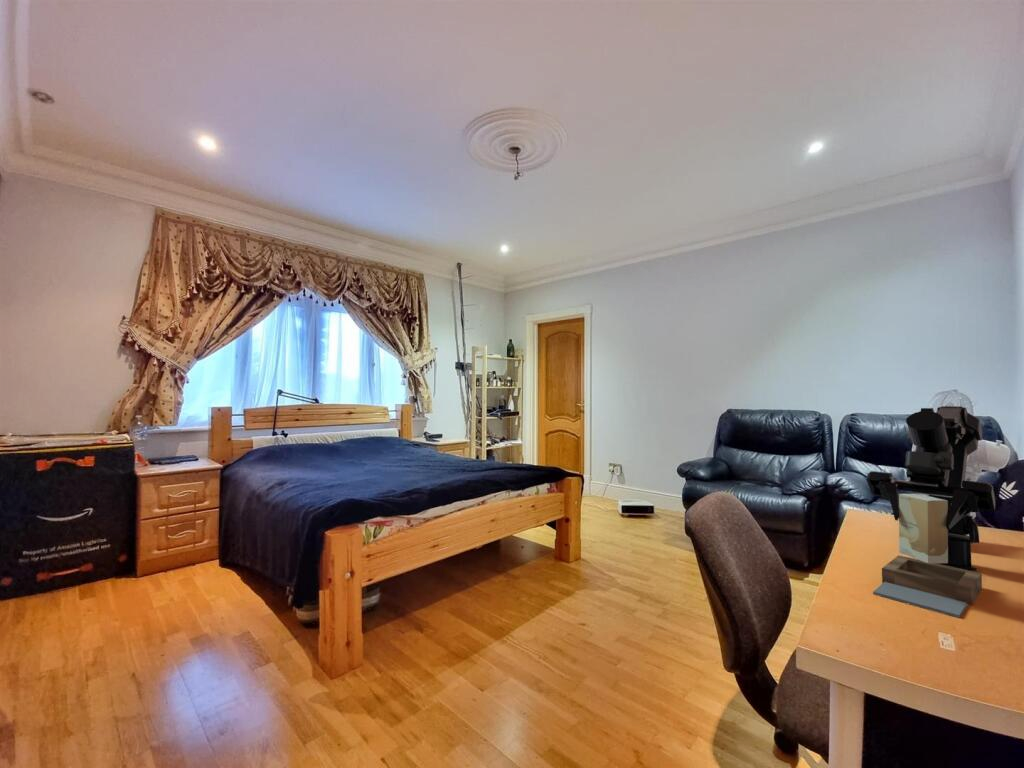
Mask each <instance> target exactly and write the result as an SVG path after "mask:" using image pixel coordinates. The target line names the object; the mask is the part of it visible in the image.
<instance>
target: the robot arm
mask: <svg viewBox="0 0 1024 768" xmlns="http://www.w3.org/2000/svg"><path fill="white" fill-rule="evenodd" d="M905 421H906V425H907V426H906V427H907V429H908V433H909V436H910V439H911V443H912V444H913V445H914V446H915V451H914V450H908V451H906V452H905V463H904V467H905V468H906V472H905V475H906V478H908V479H909V480H903V479H897V478H896V477H894V476H893V473H892V472H884V471H877V470H876V471H875V470H872V471H869V472H868V473H867V475H866V482H867V485H868V488H869V490H870V493H871V495H873V496H875V497H880V498H882V499H883V500H885V501H888V502H889V503H890V506H891V510H892V514H893V518H894V520H895V521H898V522H899V494H900V491H904V492H912V493H915V494H920V495H926V496H930V497H934V498H938V499H943V500H947V501H948V516H947V520H946V528H947V529H948V563H936V564H941V565H945V566H950V567H955V568H959V569H964V570H969V571H977V567H975V566H974V565H972V544H974V543H975V544H979V543H980V531H979V527H978V526H979V525H978V523H977V522H976V521H975V518H974V516H973V515H971V513H978V512H979V511H983V512H989V513H990V512H993V511H995V510H996V496H995V492H994V487H993V485H992V484H991V483H989V482H985V481H984V482H983V481H973V480H966V471H967V462H968V456H969V455H971V454H972V453H974V452H975V451H977V450H978V449H979V441H980V442H981V441H982V440H983V430H982V429H983V428H982V423H981V421H980V419H979V418H978V417H975V416H974V415H972V414H971V413H969V412H968V408H967V407H963V406H957V405H956V406H955V405H953V406H952V405H951V406H949V405H948V406H943V405H942V406H940V407H939V406H938V407H937V409H936V412H935V409H934V408H932V407H928V408H927V407H921V408H920V410H919V411H917V412H913V413H912V414H910V415H909V416H908V417H907V418H906V419H905Z"/></svg>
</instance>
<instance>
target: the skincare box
mask: <svg viewBox="0 0 1024 768" xmlns="http://www.w3.org/2000/svg"><path fill="white" fill-rule="evenodd" d="M947 516H948V501H947V500H943V499H938V498H934V497H930V496H929V495H926V494H919V493H899V519H898V553H899V554H902V555H905V556H908V557H909V558H912V559H917V560H920V561H923V562H926V563H948V529H947V528H946V520H947Z"/></svg>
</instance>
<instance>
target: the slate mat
mask: <svg viewBox="0 0 1024 768" xmlns="http://www.w3.org/2000/svg"><path fill="white" fill-rule="evenodd" d="M872 594H873V595H875V596H878V595H879V597H882V598H885V599H890V600H893V601H896V602H900V601H901V602H900V603H903V602H905V604H907V603H909V604H908V605H911V606H914V607H917V608H918V607H919V608H922V609H926V610H930V611H932V612H936V613H940V614H943V615H947V616H951V617H954V618H958V619H960V618H961V616H962V615H963V614H964V612H965V610H966V608H967V607H968V605H967V603H966V602H962V601H958V600H954V599H950V598H946V597H943V596H939V595H935V594H931V593H927V592H923V591H919V590H915V589H911V588H907V587H903V586H899V585H896V584H892V583H888V582H884V583H882V584H880V585H879V586H877V588H875V589H874V590H873V591H872Z"/></svg>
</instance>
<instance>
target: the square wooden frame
mask: <svg viewBox="0 0 1024 768" xmlns="http://www.w3.org/2000/svg"><path fill="white" fill-rule="evenodd" d="M982 579H983V578H982V572H978V571H974V570H970V569H960V568H955V567H950V566H945V565H941V564H936V563H926V562H923V561H920V560H918V559H915V558H912V557H909V556H908V557H906V556H903V555H897V556H895V557H894V558H893V559H892V560H890V561H889V562H887V563H886V565H884V566H882V568H881V582H882V584H883V583H884V582H888V583H892V584H896V585H899V586H903V587H907V588H911V589H915V590H919V591H923V592H927V593H931V594H935V595H939V596H943V597H946V598H950V599H954V600H958V601H962V602H966V603H967V606H971V607H972V606H973V604H974V603H975V601H976V599H977V598H978V596H979V594H980V593H981V591H982V590H983V580H982Z"/></svg>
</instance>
